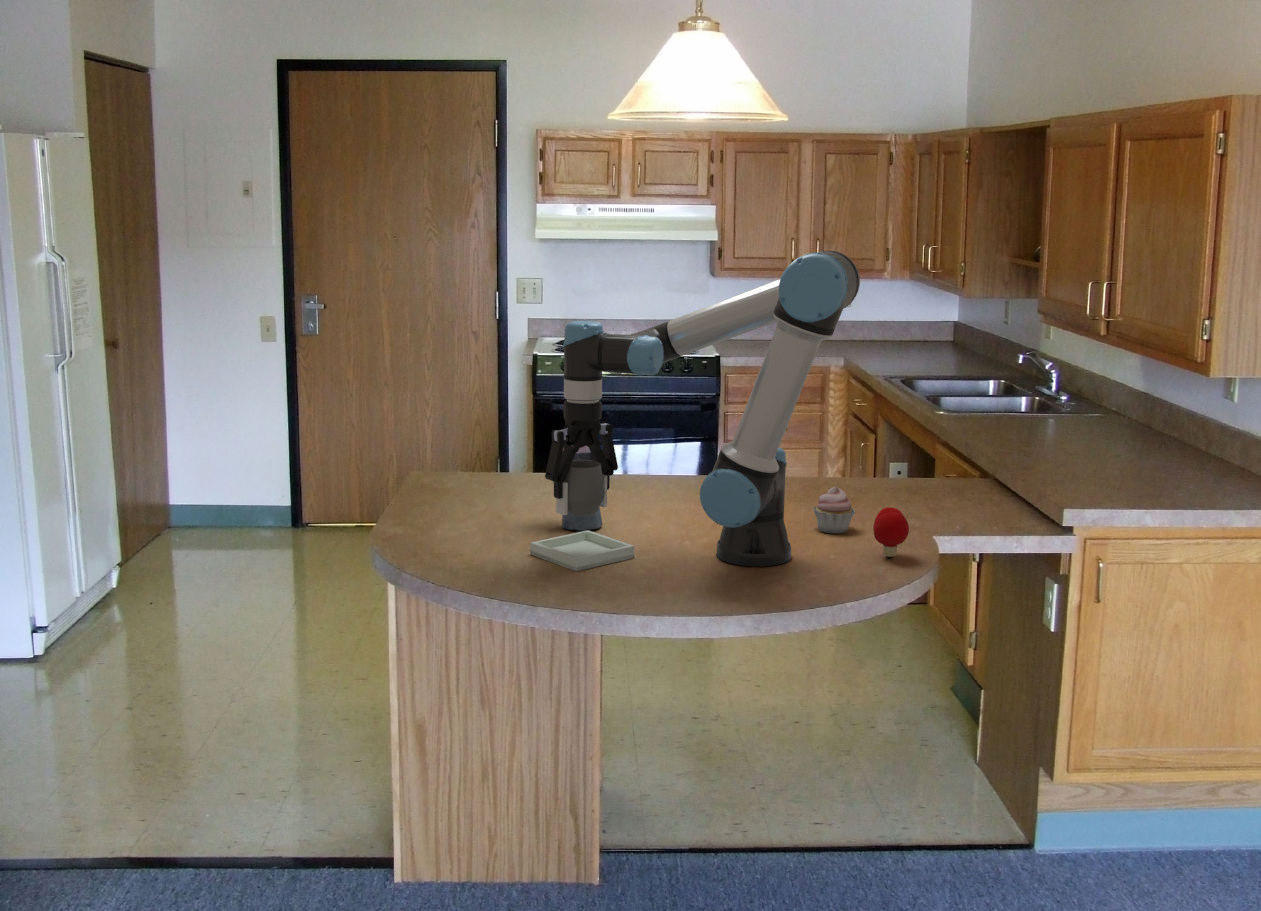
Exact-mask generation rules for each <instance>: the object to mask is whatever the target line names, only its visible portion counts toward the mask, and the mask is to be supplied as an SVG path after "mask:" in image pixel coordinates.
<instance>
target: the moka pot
mask: <svg viewBox="0 0 1261 911" xmlns="http://www.w3.org/2000/svg"><path fill="white" fill-rule="evenodd" d="M571 446H573V445H571ZM563 450H564V448H563ZM602 451H603V449H602ZM573 460H591V461H594V458H593V456H592V454H591V452H590V449H589V447H588V446H584V447H581V448H579V451H578V452H576V454H575V456H574V459H573ZM602 526H603V519H602V514H601V506H600V507H599V509H598V510H597V512H596V513H594V514H590V515H573V514H570V513H568V512H567V515H562V517H561V527H562V528H563V529H564V530H568V531H576V532H582V531H587V530H589V531H591V530H596V529H597V530H598V529H599V528H602Z"/></svg>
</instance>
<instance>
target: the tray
mask: <svg viewBox="0 0 1261 911" xmlns="http://www.w3.org/2000/svg"><path fill="white" fill-rule="evenodd" d="M529 544H530V545H529V546H530V547H529V548H530V553H529V554H530V555H531V556H534V557H536V558H539V559H542V560H544V561H548V562H550V563H553V564H555V565H558V566H560V567H563V568H566V569H568V570H571V571H574V572H580V571H584V570H588V569H589V570H590V569H592V568H593V569H594V568H597V567H601V566H605V565H609V564H613V563H617V562H621V561H627V560H631V559H635V553H636V552H635V549H636V548H635V547H636V546H635V545H633V544H630V543H627V542H626V541H625V542H624V541H621V540H618V539H616V538H613V537H609V536H607V535H604V534H600V533H597V532H594V531H591V530H582V531H577V532H575V533H574V532H573V533H569V534H565V535H564V534H563V535H560V536H559V535H558V536H555V537H550V538H545V539H541V540H536V541H532V542H530V543H529Z"/></svg>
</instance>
